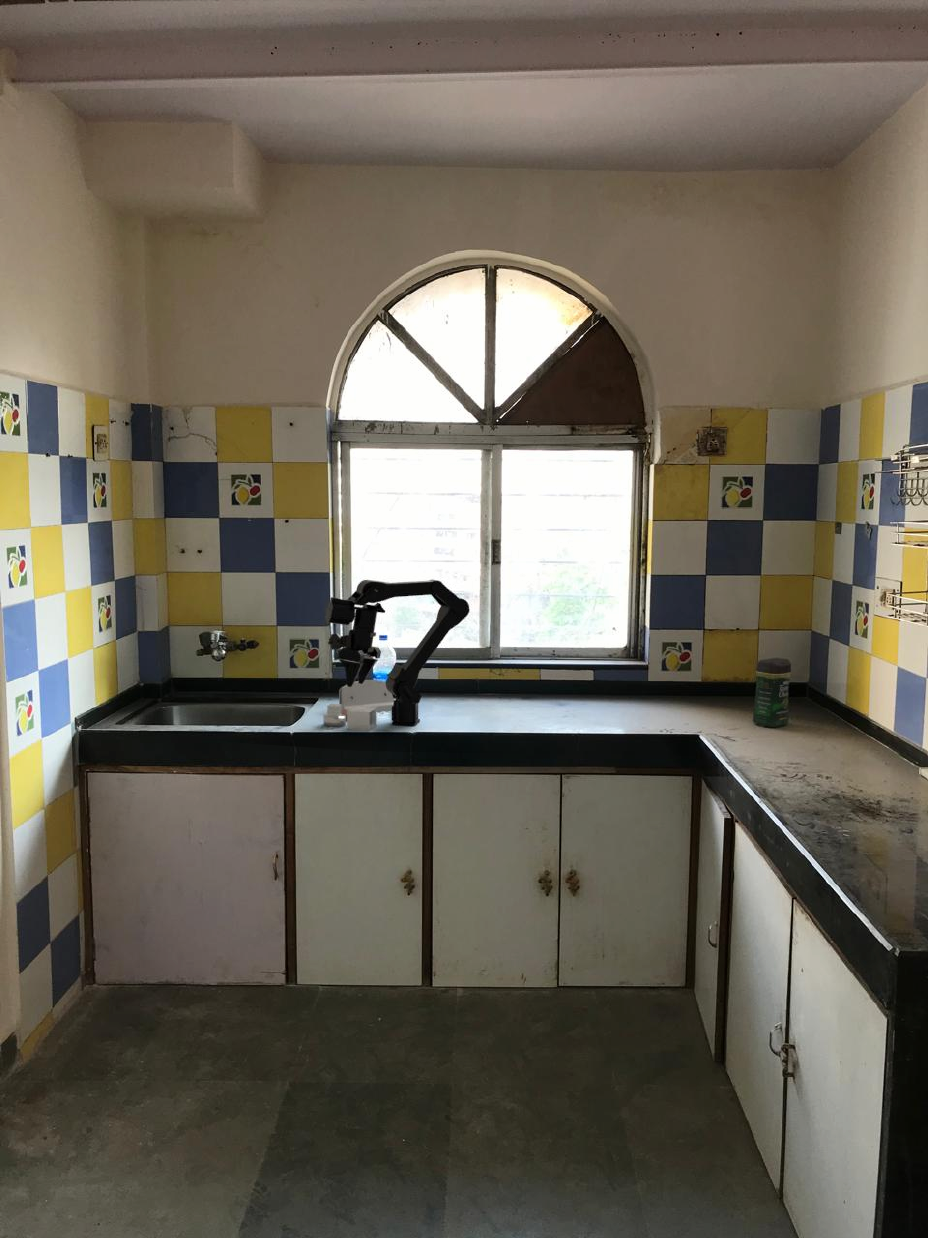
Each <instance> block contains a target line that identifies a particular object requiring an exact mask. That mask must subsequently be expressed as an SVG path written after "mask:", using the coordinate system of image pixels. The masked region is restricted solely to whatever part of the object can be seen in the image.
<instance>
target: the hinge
mask: <svg viewBox="0 0 928 1238" xmlns="http://www.w3.org/2000/svg"><path fill="white" fill-rule="evenodd" d="M338 693H339V694H338V695H339V696H338V701H339V702H338V704H342V710H349V709H351V708H352V707H354V706H359V707H376V712H377V713H382V712H381V711H387V712H391V711H390V710H392V706H393V705H394V701H395V700H396V699H394V698H393V696H392V693H390V692H389V691H388V690H387V688H386V681H383V680H378V679H365V681H364V682H363V684H360V683H359V680H358V681H356V680H355V681H354V683H353V685H352V687H348V686H347V684H345V685H344V686H342V687H340V689H339V690H338Z"/></svg>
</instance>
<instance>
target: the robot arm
mask: <svg viewBox="0 0 928 1238" xmlns="http://www.w3.org/2000/svg"><path fill="white" fill-rule="evenodd" d="M416 596H431V597H432V598H433V599H434V601H436V603H437V604H438V605H439V606H440V607H439V609H438V611H437V615H436V619H435V622H433V624H432V625H431V626H430V628H429V629H428V631H427V633H425V635H424V636H423V638H422V640H420V642H419V643H418V645H416V648H415V649H414V650H413V652H412V653H411V654H410V655H409V657H408V659H407V660H406V661H405V662H404V663H402V664H401V665H399V664H397V663H395V664H394V665H393V667H392V669H391V670H390V672H389V673H387V674H386V677H387V678H386V679H385V682H386V688H387V690H388V691H389V692H390V693H392V696H393V698H394V700H395V701H394V705H393V706H392V711H391V721H392V722H391V725H396V726H412V727H413V726H416V725H417V724H418V723H420V721H421V719H420V718H419V703H420V701H421V699H422V695H421V693H419V692H418V691H417V690H416V689H415V686H416V685H417V682H418V678H419V675H420V673H421V671H422V669H423V667H424V666H425V664H426V663H428V660H429V659H430V658H431V657H432V656H433V654H434V652H435V651H436V650H437V648H438V647H439V646H440V644H441V643H442V642H443V640H444V638H445V637H446V636H447V635H448V633H449V632H450V631H451V630H453V628H455V627H457V626H458V625H459V624H460V623H461V622H462V621H464V619H466V618H467V616H468V615H469V613H470V604H469V603H468V602H467V600H466V599H464V598H461V597H459V596H458V595H456V594H455V593H454V592H453V591H452V590H450V589H449V588H448V587H447V586H446V585H445V584H443V582H442V581H441V580H437V579H429V580H418V581H417V580H416V581H402V582H401V581H399V582H397V581H396V582H385V581H379V580H370V579H363V580H361V581H359V582H358V584H357V586H356V590H355V591H354V592H353V593H352V594H351V595H350V596H349V597H348V598H347V599H343V598H342V599H341V598H339V597H336V596H335V597H333V596H330V600H329V602H328V604H327V606H326V609H325V622H326V623H327V624H335V625H341V626H343V625H344V626H349V625H350V624H351V623H353V624H352V629H350V630H348V634H347V635H340V633H336V632H335V633H332V634H330V637H329V638H328V642H327V643H328V645H330V650H332V651H334V650H337V655H336V656H337V659H338V660H339V662H340V663H341V664H342V665H343V667H344V670H345V678H346V680H345V681H346V685H347V686H348V687H352V685H353V683H354V682H356V679H357V677H358V679H357V680H358V681H359V683H360V684H363V682H364V681H365V680H367V677H368V676H369V674H370V673H371V672H372V670H373V668H374V666H375V665H376V664H377V662H378V661H379V659H380V658H381V654H382V651H381V649H380V648H379V647H378V646H377V647H376V646H373V641H374V638H375V637H377V632H375V629H376V624H377V615H378V613H381V614H385V613H386V610H385V609H384V607H382V604H381V602H383V601H387V600H390V599H393V598H398V597H399V598H401V597H416ZM369 603H370V604H369Z"/></svg>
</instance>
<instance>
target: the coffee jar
mask: <svg viewBox="0 0 928 1238" xmlns="http://www.w3.org/2000/svg"><path fill="white" fill-rule="evenodd" d="M791 675H792V662H790V660H789V659H786V658H779V657H772V658H771V657H770V658H766V659H760V660H759V661H757V663H756V667H755V677H756V689H755V698H754V705H753V706H754V707H753V715H752V723H753V724H755V725H757V726H759V727H771V728H777V727H779V728H780V727H782V726H783V727H784V726H786V725H787V724H788V723H789V688H790V687H789V685H790V679H791Z"/></svg>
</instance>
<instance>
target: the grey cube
mask: <svg viewBox="0 0 928 1238" xmlns="http://www.w3.org/2000/svg"><path fill="white" fill-rule="evenodd" d="M376 726H377V713H376V707H359V706H354V707H352V708H351V709H349V710H348V711H347V721H346V727H347V728H346V730H347V729H349V730H350V731H363V732H365V731H366V732H367V731H369V732H370V731H371V730H373V729H374V728H375V727H376Z"/></svg>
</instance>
